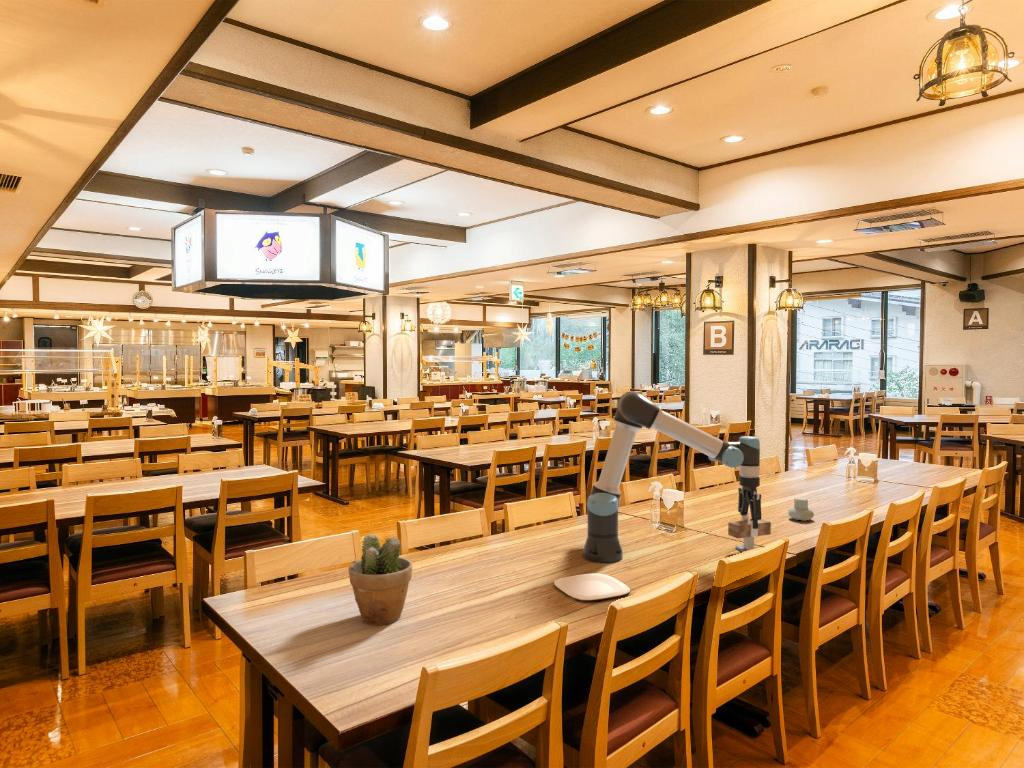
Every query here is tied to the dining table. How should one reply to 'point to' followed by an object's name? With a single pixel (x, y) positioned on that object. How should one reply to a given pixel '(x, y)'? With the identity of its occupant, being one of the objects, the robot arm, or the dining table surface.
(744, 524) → the beam
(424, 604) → the dining table surface
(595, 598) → the plate
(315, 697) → the dining table surface
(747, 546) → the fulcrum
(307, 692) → the dining table surface
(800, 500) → the air freshener
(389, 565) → the potted plant
